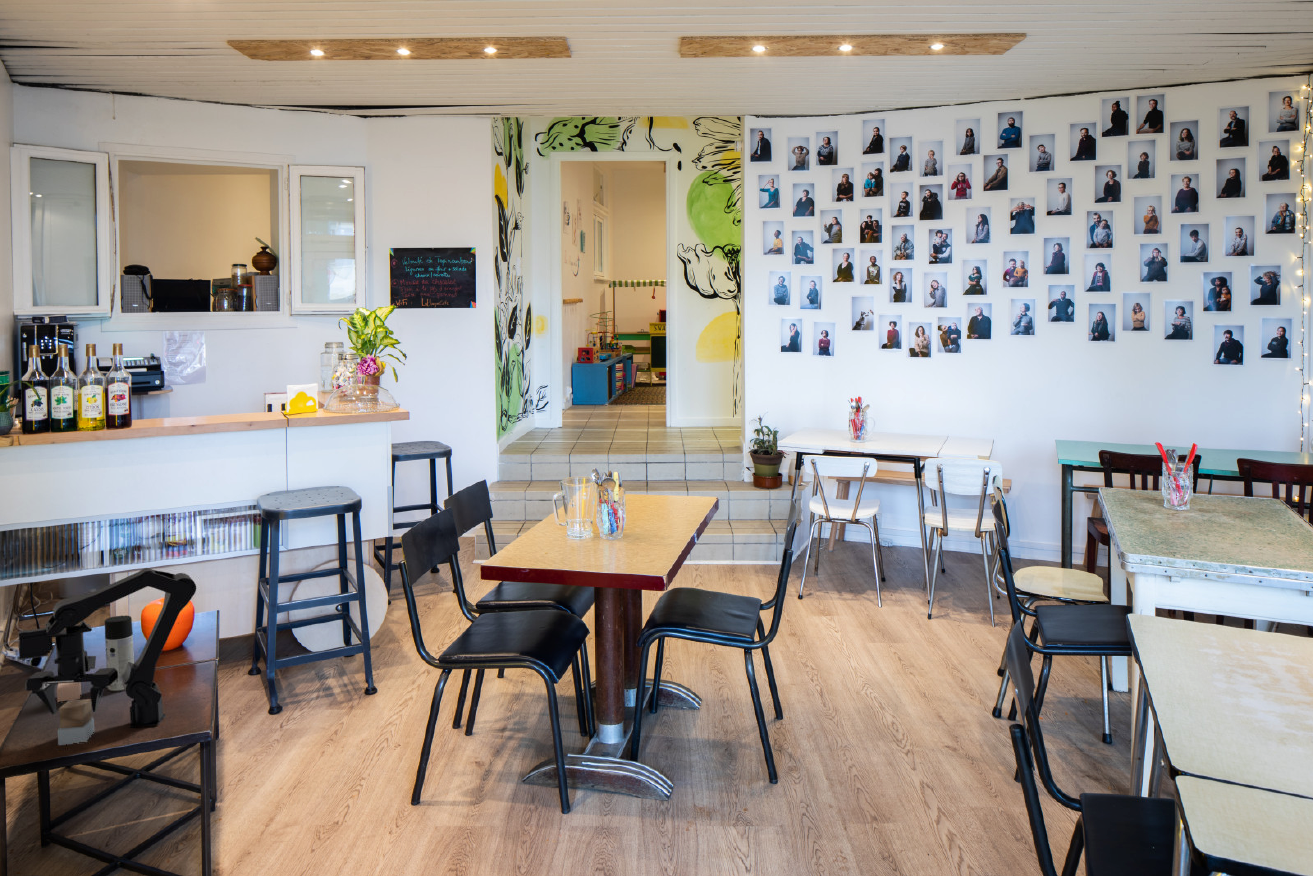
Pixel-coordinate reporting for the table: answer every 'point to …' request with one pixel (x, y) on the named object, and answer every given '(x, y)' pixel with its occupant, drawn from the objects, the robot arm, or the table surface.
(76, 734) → the slate block
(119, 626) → the spray can
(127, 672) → the robot arm
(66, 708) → the walnut cube
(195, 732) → the table surface
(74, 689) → the terracotta block
